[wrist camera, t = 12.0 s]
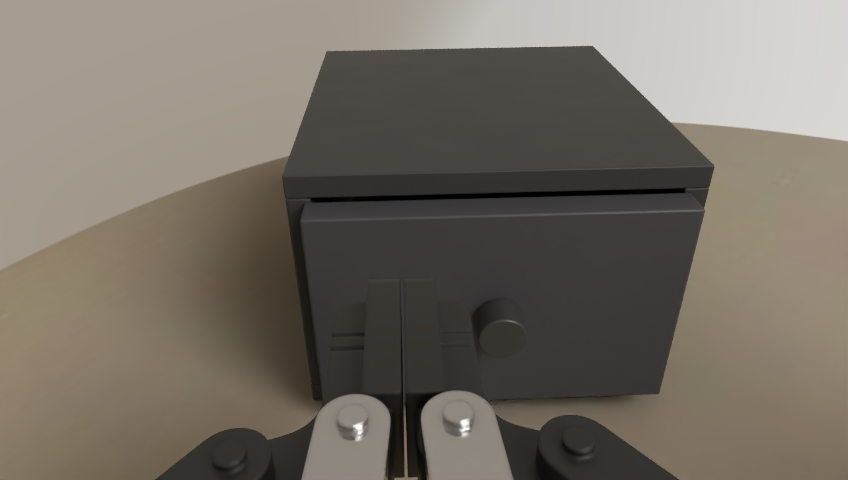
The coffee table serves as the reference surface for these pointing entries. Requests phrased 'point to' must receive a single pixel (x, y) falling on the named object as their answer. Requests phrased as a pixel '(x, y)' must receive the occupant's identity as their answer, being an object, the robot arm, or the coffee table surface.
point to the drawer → (521, 279)
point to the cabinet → (477, 134)
